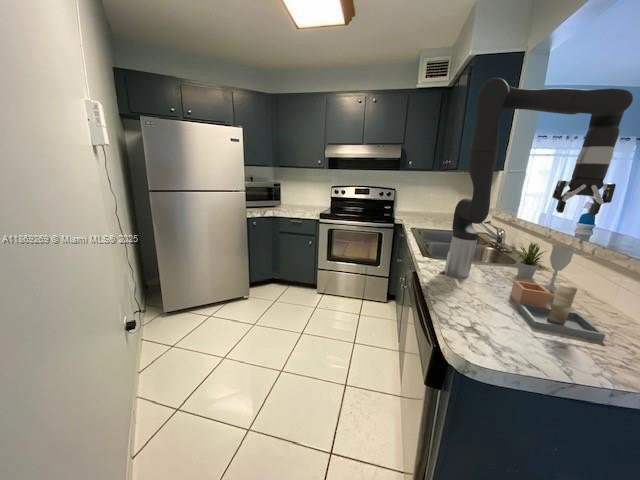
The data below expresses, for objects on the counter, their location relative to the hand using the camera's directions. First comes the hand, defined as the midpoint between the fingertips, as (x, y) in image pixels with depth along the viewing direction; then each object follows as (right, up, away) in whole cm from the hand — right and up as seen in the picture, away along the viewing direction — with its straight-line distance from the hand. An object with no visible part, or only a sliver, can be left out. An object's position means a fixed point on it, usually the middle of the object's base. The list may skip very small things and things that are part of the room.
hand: (575, 214), depth 85 cm
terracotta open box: (-12, -31, +5) cm, 34 cm away
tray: (-13, -35, -7) cm, 38 cm away
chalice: (+8, -29, +18) cm, 35 cm away
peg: (-13, -34, -7) cm, 37 cm away
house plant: (+9, -25, +33) cm, 42 cm away
